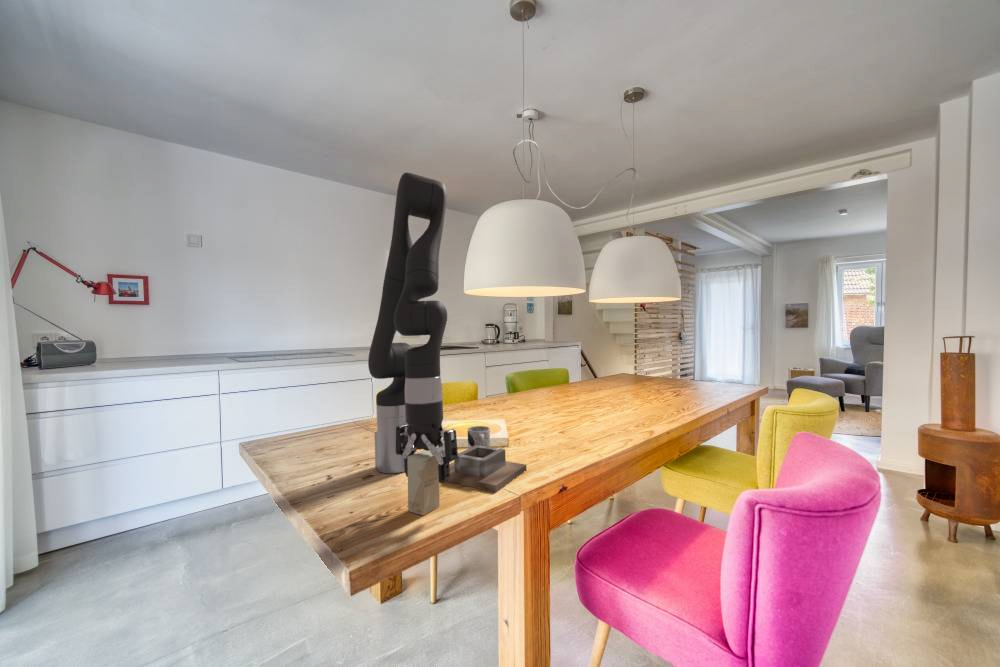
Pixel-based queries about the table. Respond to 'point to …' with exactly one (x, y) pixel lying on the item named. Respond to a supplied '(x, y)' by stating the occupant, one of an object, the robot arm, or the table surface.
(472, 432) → the mug
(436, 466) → the box
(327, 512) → the table surface
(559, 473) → the table surface
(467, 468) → the socket
